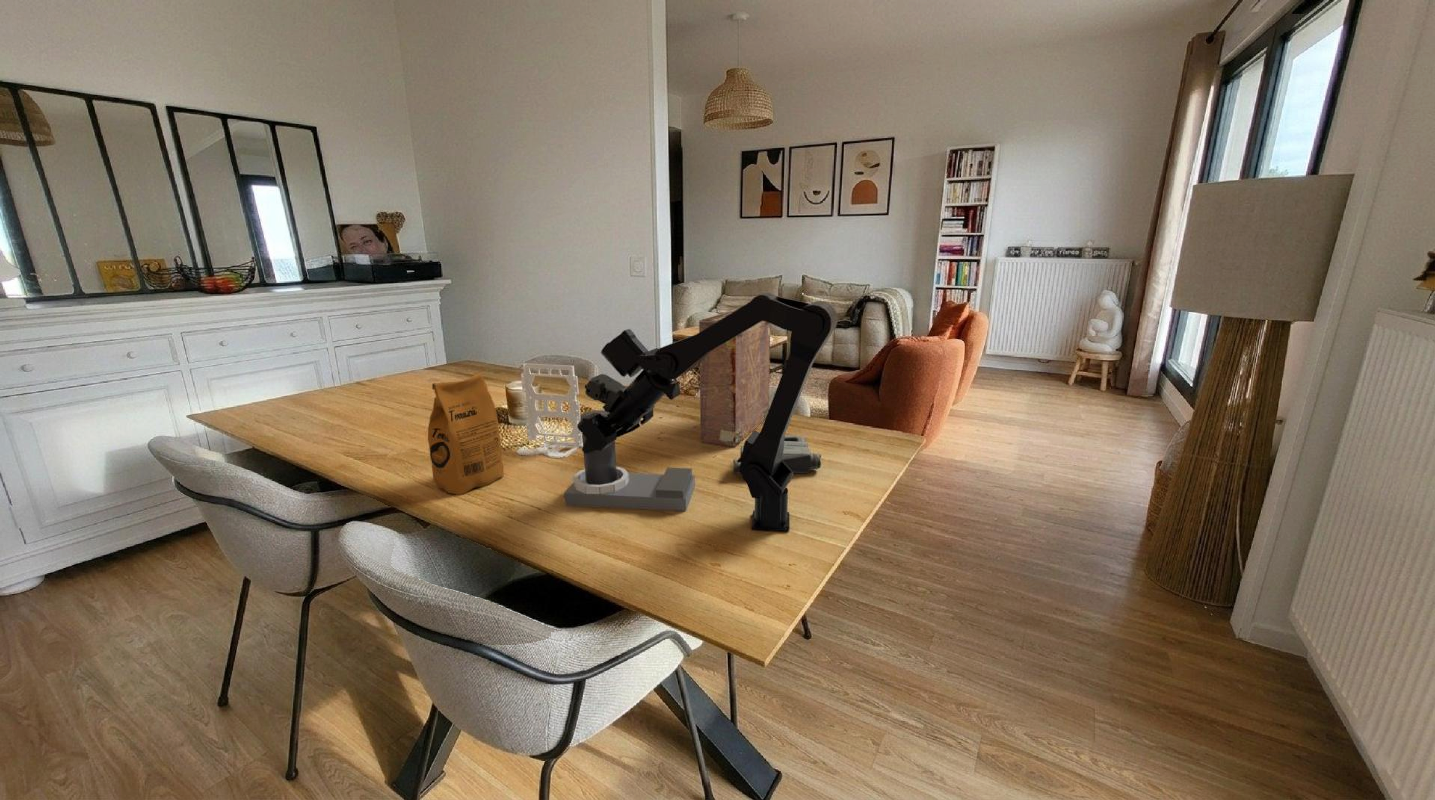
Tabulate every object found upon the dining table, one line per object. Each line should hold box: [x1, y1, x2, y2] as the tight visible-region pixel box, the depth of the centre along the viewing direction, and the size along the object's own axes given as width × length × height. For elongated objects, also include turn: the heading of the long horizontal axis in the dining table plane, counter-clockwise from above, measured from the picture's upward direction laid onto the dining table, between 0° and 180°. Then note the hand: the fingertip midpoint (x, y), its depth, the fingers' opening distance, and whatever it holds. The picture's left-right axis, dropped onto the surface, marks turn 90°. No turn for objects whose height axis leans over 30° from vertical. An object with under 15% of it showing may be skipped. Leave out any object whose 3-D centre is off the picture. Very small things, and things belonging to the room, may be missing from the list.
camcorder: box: [732, 434, 822, 476], centre depth 125 cm, size 16×20×5 cm
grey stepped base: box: [563, 465, 696, 512], centre depth 110 cm, size 11×23×4 cm, turn 83°
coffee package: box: [427, 372, 505, 496], centre depth 114 cm, size 10×12×22 cm
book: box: [698, 308, 771, 448], centre depth 144 cm, size 25×9×30 cm, turn 157°
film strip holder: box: [515, 363, 583, 459], centre depth 134 cm, size 14×14×20 cm
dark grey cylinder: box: [580, 409, 618, 485], centre depth 108 cm, size 6×6×13 cm
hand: (593, 446), depth 109 cm, fingers closed on dark grey cylinder, 6 cm apart
